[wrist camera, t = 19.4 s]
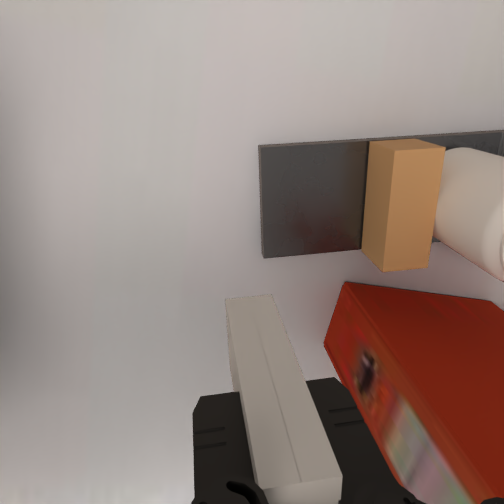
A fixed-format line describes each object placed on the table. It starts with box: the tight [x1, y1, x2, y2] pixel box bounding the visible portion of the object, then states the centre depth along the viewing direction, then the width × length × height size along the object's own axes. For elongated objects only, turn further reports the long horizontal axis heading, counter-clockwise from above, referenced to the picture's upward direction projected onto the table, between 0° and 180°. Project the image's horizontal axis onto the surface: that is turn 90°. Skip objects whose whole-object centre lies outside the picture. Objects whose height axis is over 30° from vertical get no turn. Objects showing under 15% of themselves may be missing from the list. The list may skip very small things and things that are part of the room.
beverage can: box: [432, 147, 504, 282], centre depth 32 cm, size 8×8×12 cm
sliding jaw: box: [361, 138, 446, 272], centre depth 34 cm, size 4×10×5 cm, turn 2°
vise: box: [258, 130, 504, 258], centre depth 35 cm, size 26×10×6 cm, turn 92°
